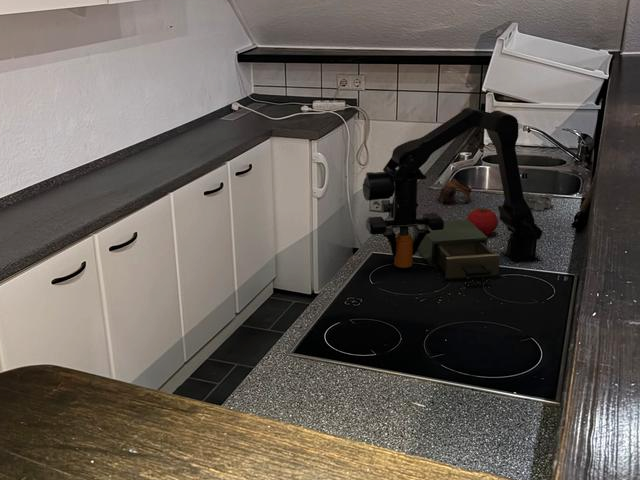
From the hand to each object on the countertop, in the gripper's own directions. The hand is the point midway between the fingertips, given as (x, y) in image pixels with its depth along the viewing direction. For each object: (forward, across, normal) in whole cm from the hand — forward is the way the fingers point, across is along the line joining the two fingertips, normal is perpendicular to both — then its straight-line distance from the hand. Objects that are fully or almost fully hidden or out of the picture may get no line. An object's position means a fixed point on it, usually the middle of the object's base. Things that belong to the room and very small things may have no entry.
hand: (403, 255), depth 194 cm
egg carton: (+4, -54, -44) cm, 70 cm away
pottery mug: (+4, -31, -53) cm, 62 cm away
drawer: (+3, -15, +5) cm, 16 cm away
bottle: (+2, 0, 0) cm, 3 cm away
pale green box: (+4, -15, -8) cm, 17 cm away
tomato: (+4, -29, -22) cm, 37 cm away
